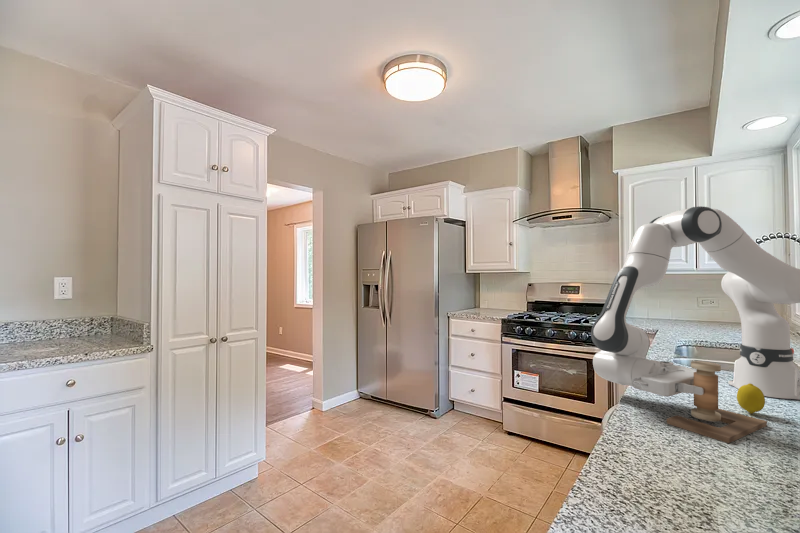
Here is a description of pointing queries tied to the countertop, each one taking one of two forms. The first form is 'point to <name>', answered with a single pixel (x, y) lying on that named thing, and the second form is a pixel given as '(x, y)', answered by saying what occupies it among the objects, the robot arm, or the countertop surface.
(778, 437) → the countertop surface
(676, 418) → the notched board
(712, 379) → the bobbin
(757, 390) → the lemon
